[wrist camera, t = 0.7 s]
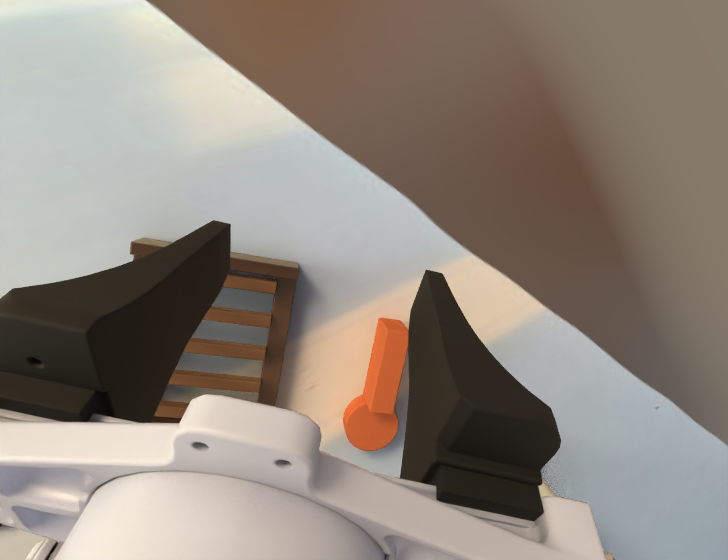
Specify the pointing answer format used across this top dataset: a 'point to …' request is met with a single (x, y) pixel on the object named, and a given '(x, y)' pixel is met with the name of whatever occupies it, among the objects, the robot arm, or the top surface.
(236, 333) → the top surface
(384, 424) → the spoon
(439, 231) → the top surface
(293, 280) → the rack
